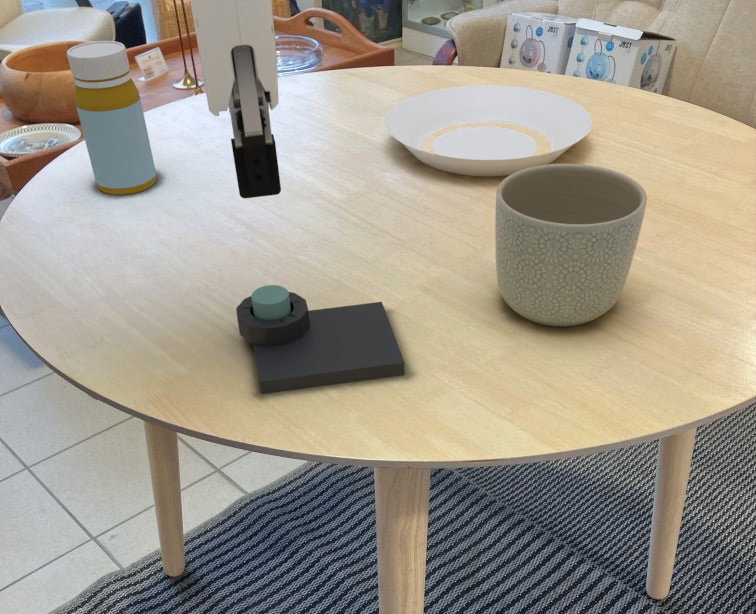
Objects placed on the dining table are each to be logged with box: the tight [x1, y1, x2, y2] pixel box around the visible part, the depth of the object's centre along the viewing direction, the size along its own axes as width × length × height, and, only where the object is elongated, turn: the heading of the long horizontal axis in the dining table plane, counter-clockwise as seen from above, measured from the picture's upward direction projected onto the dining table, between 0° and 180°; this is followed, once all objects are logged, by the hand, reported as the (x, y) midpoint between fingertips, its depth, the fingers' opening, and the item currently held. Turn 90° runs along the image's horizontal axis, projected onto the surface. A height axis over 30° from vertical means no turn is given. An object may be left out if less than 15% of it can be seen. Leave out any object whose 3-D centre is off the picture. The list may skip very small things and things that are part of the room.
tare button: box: [250, 284, 291, 320], centre depth 73 cm, size 3×3×2 cm
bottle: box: [66, 40, 158, 196], centre depth 97 cm, size 7×7×15 cm
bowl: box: [384, 84, 593, 177], centre depth 106 cm, size 25×25×4 cm
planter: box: [494, 163, 648, 328], centre depth 75 cm, size 12×12×11 cm
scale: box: [235, 291, 405, 395], centre depth 74 cm, size 13×11×4 cm
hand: (260, 191), depth 67 cm, fingers closed
